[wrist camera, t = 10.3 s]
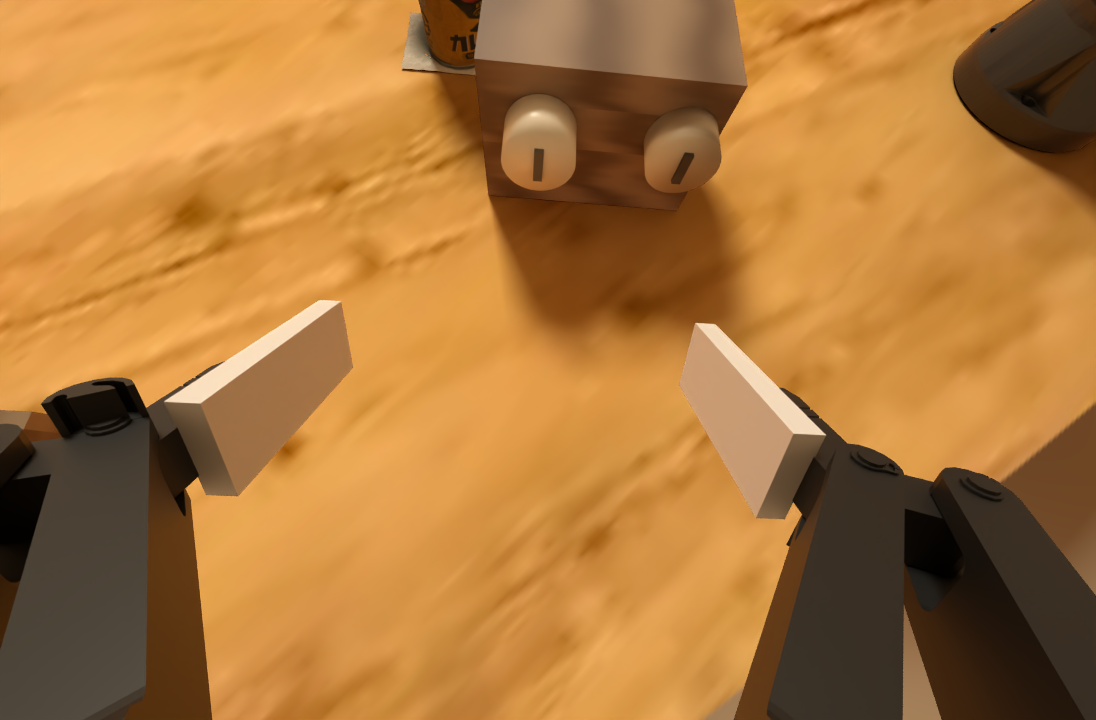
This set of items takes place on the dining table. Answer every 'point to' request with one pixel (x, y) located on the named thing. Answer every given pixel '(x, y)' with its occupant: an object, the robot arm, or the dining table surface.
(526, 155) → the knob
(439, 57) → the condiment
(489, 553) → the dining table surface
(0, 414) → the frame
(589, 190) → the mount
